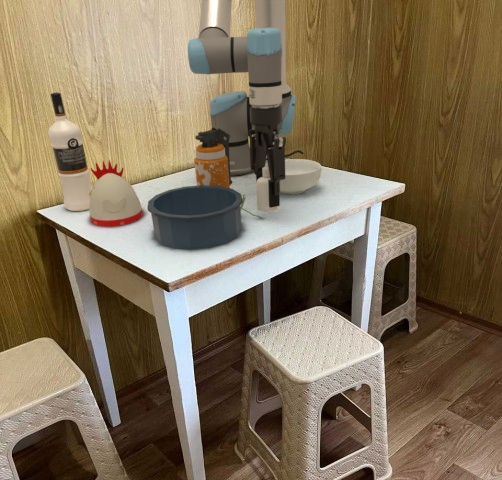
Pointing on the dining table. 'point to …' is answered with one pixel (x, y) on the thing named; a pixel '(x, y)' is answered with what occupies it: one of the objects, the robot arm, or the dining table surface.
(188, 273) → the dining table surface
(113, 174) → the kitchen timer
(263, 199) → the eye dropper bottle
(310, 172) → the cereal bowl
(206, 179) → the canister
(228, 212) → the basin
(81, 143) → the vodka
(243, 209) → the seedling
